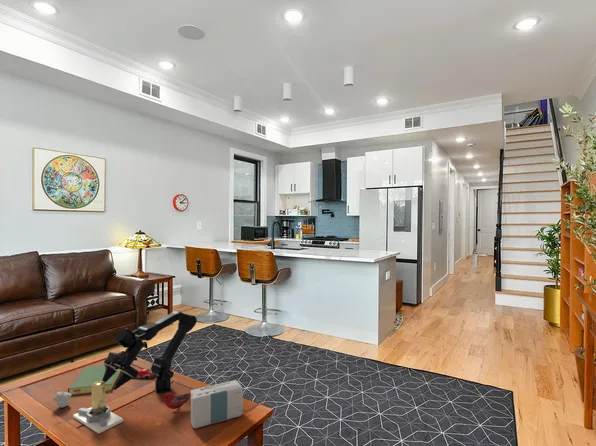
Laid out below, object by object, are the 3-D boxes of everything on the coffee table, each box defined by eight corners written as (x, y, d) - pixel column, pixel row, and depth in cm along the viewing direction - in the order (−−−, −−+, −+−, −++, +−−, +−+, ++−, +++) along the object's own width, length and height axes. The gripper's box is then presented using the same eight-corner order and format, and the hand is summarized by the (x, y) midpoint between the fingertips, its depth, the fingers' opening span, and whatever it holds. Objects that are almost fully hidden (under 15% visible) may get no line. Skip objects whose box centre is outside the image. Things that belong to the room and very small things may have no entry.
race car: (128, 378, 187) (128, 371, 186) (134, 374, 192) (134, 366, 192) (151, 380, 185) (151, 372, 185) (157, 375, 190) (157, 368, 190)
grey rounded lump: (51, 407, 157) (51, 392, 157) (69, 401, 163) (69, 386, 163) (55, 412, 153) (55, 396, 153) (73, 406, 159) (73, 390, 159)
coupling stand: (97, 407, 158) (97, 398, 158) (123, 421, 147) (122, 412, 147) (73, 417, 150) (73, 408, 150) (98, 433, 139) (98, 424, 139)
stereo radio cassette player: (193, 431, 141) (193, 381, 140) (189, 421, 148) (189, 373, 148) (243, 417, 151) (243, 371, 150) (237, 408, 158) (237, 364, 158)
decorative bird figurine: (160, 417, 151) (160, 393, 150) (196, 401, 164) (196, 379, 164) (163, 419, 149) (163, 396, 148) (199, 403, 162) (199, 381, 162)
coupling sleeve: (108, 413, 151) (108, 380, 151) (101, 420, 146) (101, 386, 145) (95, 413, 151) (95, 380, 151) (88, 420, 146) (88, 386, 145)
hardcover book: (84, 374, 192) (83, 367, 192) (122, 370, 197) (121, 363, 197) (67, 397, 168) (67, 389, 168) (111, 392, 173) (111, 384, 172)
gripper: (107, 339, 160) (82, 373, 151) (131, 348, 150) (106, 384, 141) (124, 351, 167) (101, 383, 158) (148, 360, 157) (125, 395, 148)
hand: (107, 386), depth 151 cm, fingers open, 9 cm apart
